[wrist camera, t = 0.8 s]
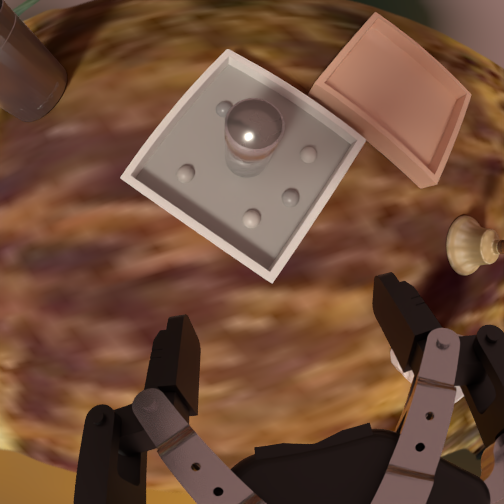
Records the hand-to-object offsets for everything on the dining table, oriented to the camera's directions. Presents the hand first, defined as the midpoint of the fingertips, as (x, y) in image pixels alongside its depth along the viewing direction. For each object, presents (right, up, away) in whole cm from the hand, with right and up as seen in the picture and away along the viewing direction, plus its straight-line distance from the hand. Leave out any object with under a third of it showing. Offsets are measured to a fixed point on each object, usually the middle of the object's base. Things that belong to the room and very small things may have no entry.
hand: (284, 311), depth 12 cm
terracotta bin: (+18, +23, +20) cm, 35 cm away
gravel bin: (-2, +12, +19) cm, 23 cm away
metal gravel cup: (-2, +12, +17) cm, 21 cm away
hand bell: (+28, +3, +22) cm, 36 cm away
